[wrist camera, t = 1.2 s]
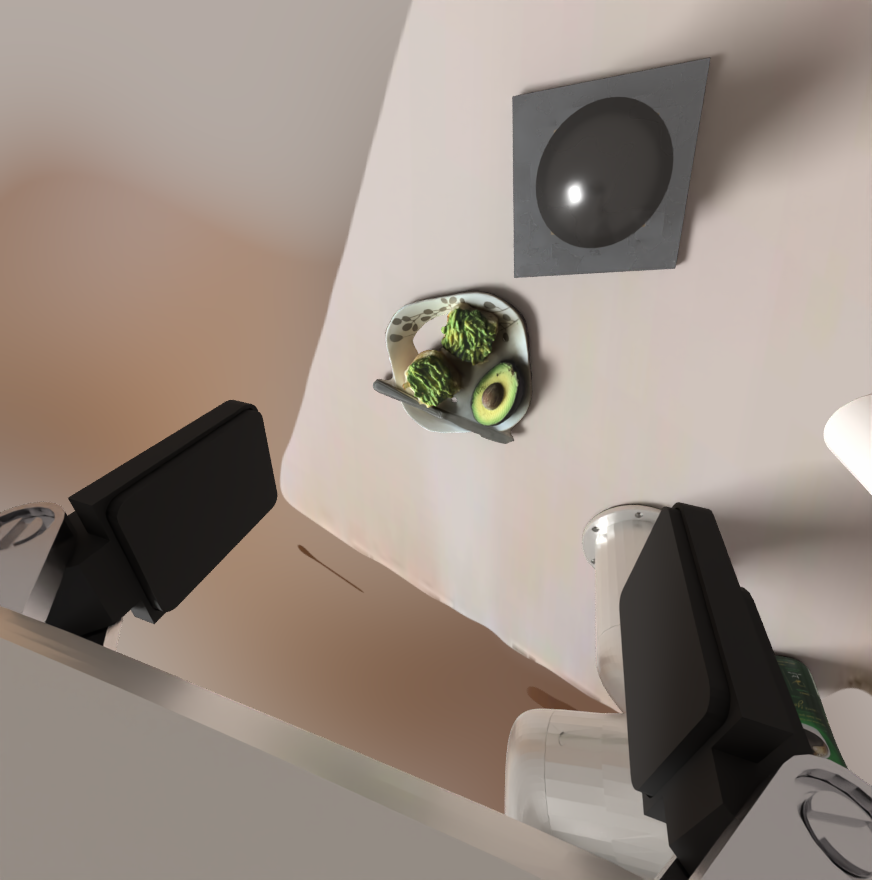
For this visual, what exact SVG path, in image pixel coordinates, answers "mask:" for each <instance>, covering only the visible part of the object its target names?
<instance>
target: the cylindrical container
mask: <svg viewBox="0 0 872 880" xmlns="http://www.w3.org/2000/svg"><path fill="white" fill-rule="evenodd" d="M824 440H825V443H826V445H827V446H828V448H829V449H830V450H831V451H832V452H833V454H834V455H835V456H836V457H837V458H838V459H839V460H840V461H841V462H842V463H843V464H844V466H845V467H846V468H847V469H848V470H849V471H850V472H851V473H852V474H853V475H854V476H855V477H856V479H857V480H858V481H859V482H860V483H861V484H862V485H863V486H864V487H865V488H866V489H867V490H868V492H869V493H870V494H871V495H872V394H870V395H867V396H863V397H860V398H858V399H855V400H853V401H851V402H849V403H847V404H846V405H844V406H842V407H841V408H840V409H838V410H837V411H836V412H835V413H834V414H833V415H832V416H831V417H830V419H829V420H828V422H827V424H826V426H825V429H824Z"/></svg>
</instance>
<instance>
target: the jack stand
mask: <svg viewBox="0 0 872 880" xmlns="http://www.w3.org/2000/svg"><path fill="white" fill-rule="evenodd" d="M709 63H710V58H706V59H701V60H696V61H690V62H685V63H680V64H675V65H670V66H665V67H660V68H655V69H650V70H645V71H640V72H635V73H630V74H625V75H619V76H614V77H609V78H604V79H599V80H594V81H589V82H584V83H579V84H574V85H569V86H564V87H559V88H554V89H548V90H543V91H538V92H533V93H528V94H523V95H518V96H513V97H512V100H513V203H514V278H519V277H537V276H554V275H571V274H588V273H605V272H623V271H640V270H657V269H674V268H675V267H676V261H677V255H678V249H679V243H680V237H681V231H682V225H683V219H684V213H685V207H686V201H687V195H688V189H689V183H690V177H691V171H692V165H693V159H694V153H695V147H696V141H697V135H698V129H699V123H700V117H701V111H702V105H703V99H704V93H705V87H706V81H707V75H708V69H709ZM609 97H627V98H632V99H636V100H638V101H641V102H643V103H645V104H646V105H648V106H650V107H651V108H652V109H653V110H654V111H655V112H657V113H659V116H660V117H661V118H662V120H663V121H664V123H665V125H666V127H667V129H668V131H669V134H670V137H671V141H672V146H673V170H672V174H671V179H670V183H669V186H668V189H667V191H666V193H665V196H664V198H663V200H662V202H661V203H660V205H659V207H658V208H657V210H656V211H655V212H654V214H653V215H652V216H651V218H650V219H649V220H648V221H647V222H646V223H645V227H641V228H640V229H639V230H637V231H636V232H635V233H633V234H632V235H630V236H629V237H627V238H626V239H624V240H622V241H620V242H617V243H615V244H613V245H609V246H606V247H600V248H581V247H577V246H573V245H570V244H568V243H566V242H564V241H562V240H561V239H559V238H558V237H557V236H556V235H551V230H550V229H549V228H548V227H547V225H546V224H545V222H544V220H543V218H542V216H541V214H540V211H539V208H538V204H537V198H536V176H537V171H538V166H539V163H540V160H541V157H542V154H543V152H544V149H545V147H546V146H547V144H548V142H549V140H550V139H551V137H552V136H553V134H554V130H557V129H558V128H559V126H560V125H561V124H562V123H563V122H564V121H565V120H566V119H567V118H568V117H569V116H570V115H572V114H573V113H575V112H576V111H577V110H579V109H580V108H582V107H584V106H585V105H587V104H589V103H592V102H594V101H597V100H600V99H604V98H609Z"/></svg>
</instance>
